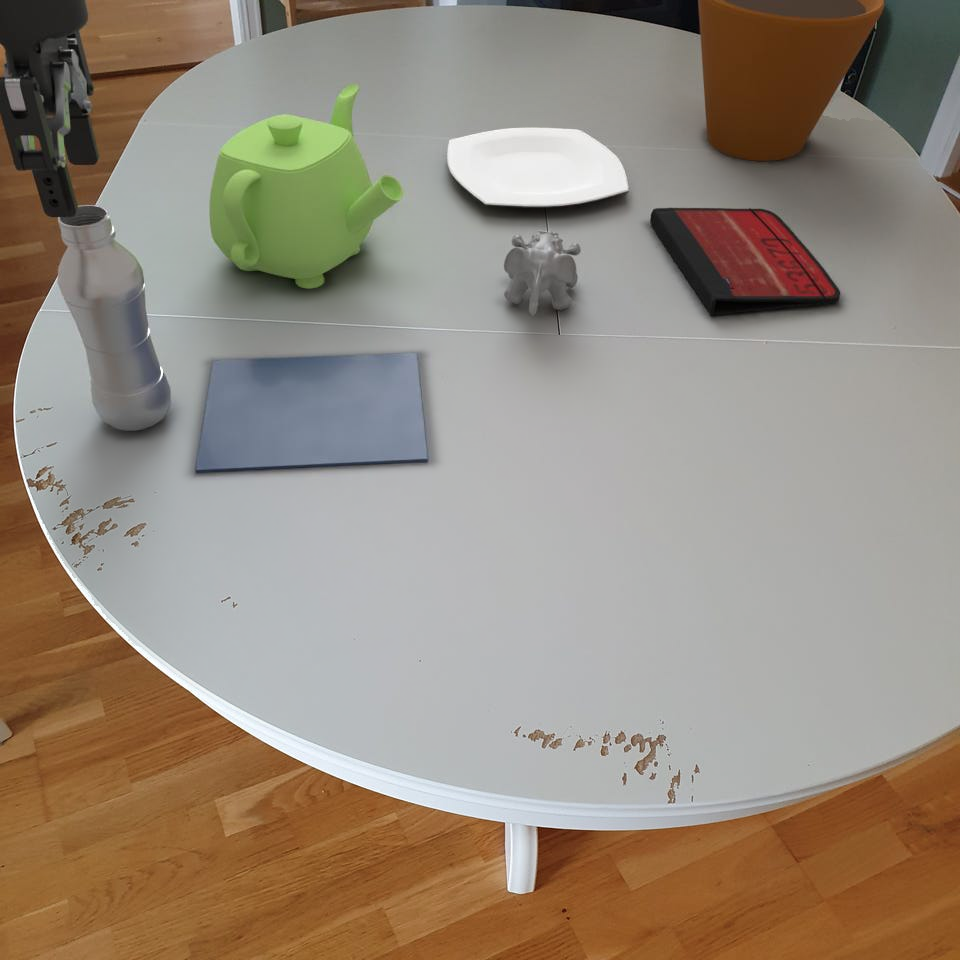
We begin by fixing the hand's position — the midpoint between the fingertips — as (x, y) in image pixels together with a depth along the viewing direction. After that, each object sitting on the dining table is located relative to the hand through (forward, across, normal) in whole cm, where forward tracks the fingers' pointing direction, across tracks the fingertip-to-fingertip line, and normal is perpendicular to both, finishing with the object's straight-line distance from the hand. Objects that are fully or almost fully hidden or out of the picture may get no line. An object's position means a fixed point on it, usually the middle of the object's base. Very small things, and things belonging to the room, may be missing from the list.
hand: (74, 188), depth 71 cm
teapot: (+22, -28, +17) cm, 40 cm away
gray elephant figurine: (+22, -16, +40) cm, 49 cm away
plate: (+22, -47, +44) cm, 68 cm away
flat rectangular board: (+22, 0, +16) cm, 27 cm away
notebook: (+22, -24, +65) cm, 73 cm away
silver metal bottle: (+22, 0, 0) cm, 22 cm away
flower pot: (+21, -58, +78) cm, 100 cm away
